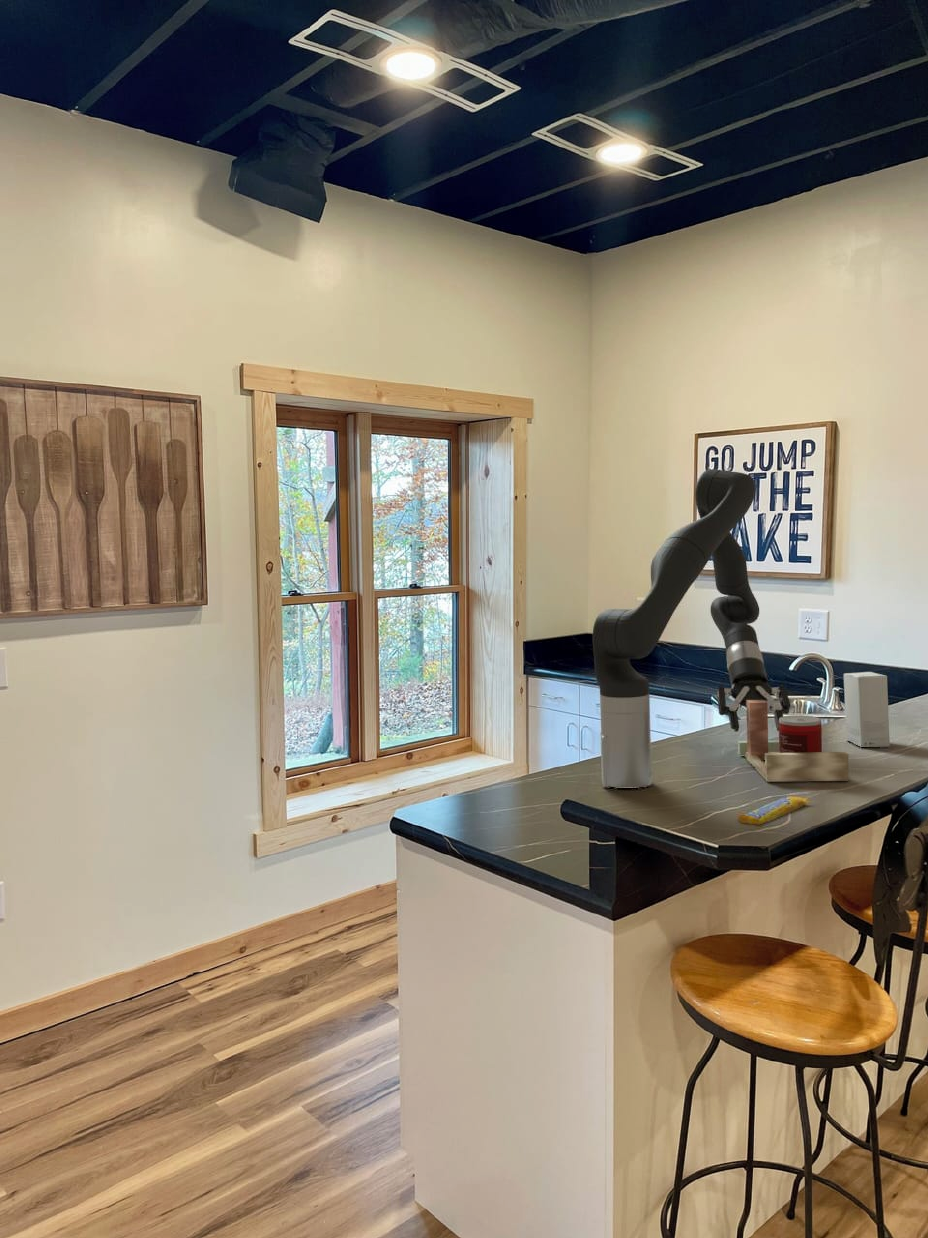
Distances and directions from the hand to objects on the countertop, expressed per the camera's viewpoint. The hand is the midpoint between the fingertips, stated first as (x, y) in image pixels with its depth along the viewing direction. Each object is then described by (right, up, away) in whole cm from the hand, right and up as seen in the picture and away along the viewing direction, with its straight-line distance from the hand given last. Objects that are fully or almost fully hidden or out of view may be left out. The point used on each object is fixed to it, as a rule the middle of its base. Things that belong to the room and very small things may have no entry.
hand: (758, 729), depth 184 cm
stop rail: (+6, -6, +5) cm, 10 cm away
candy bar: (-9, -10, -36) cm, 38 cm away
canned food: (+4, -8, -12) cm, 15 cm away
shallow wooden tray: (+4, -7, -8) cm, 11 cm away
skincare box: (+28, -5, +12) cm, 31 cm away
